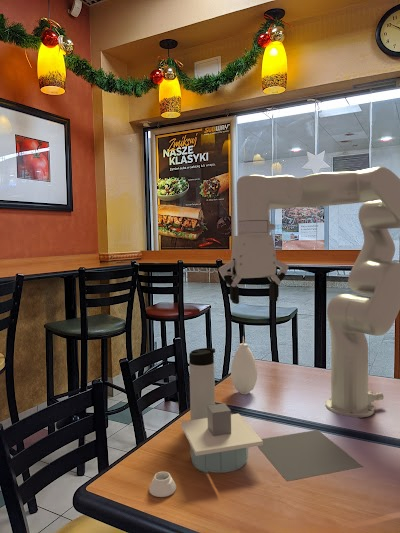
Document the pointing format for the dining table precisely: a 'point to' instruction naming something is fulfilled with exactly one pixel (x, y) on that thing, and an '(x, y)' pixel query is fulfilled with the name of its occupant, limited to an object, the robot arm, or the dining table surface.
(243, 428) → the square lid
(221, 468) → the bowl
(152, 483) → the lidless jar
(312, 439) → the mat
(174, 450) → the dining table surface
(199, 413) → the travel mug
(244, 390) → the white pear-shaped vessel
